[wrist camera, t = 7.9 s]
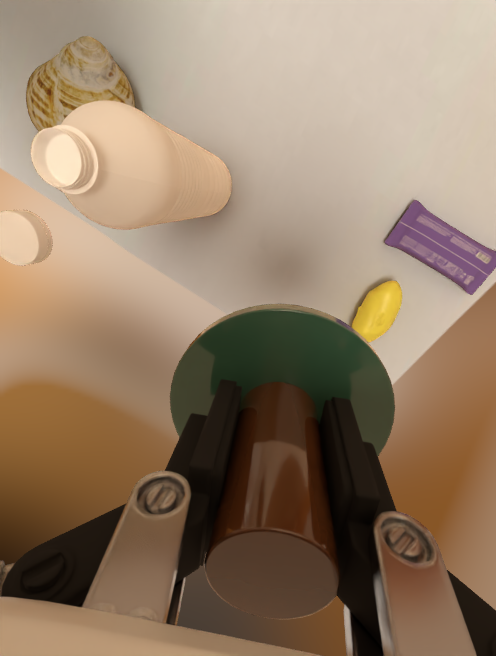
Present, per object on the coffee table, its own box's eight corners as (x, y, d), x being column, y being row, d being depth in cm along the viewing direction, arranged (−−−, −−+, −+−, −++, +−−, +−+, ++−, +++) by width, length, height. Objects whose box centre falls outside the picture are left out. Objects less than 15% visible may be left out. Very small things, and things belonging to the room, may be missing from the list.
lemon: (338, 327, 40) (343, 339, 37) (378, 270, 38) (387, 277, 34) (368, 343, 41) (375, 357, 37) (409, 287, 38) (422, 297, 34)
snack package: (467, 293, 37) (500, 254, 36) (476, 298, 36) (512, 257, 34) (381, 241, 37) (411, 199, 35) (386, 243, 35) (417, 198, 33)
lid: (176, 458, 15) (95, 647, 9) (183, 283, 12) (66, 379, 6) (357, 489, 14) (411, 714, 8) (413, 316, 11) (567, 461, 5)
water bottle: (197, 138, 35) (16, 16, 12) (244, 180, 36) (160, 144, 13) (153, 205, 38) (-60, 212, 15) (197, 243, 39) (61, 304, 16)
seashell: (24, 123, 36) (-38, 44, 26) (90, 68, 37) (54, -28, 27) (96, 192, 37) (62, 140, 27) (157, 135, 38) (146, 67, 28)
